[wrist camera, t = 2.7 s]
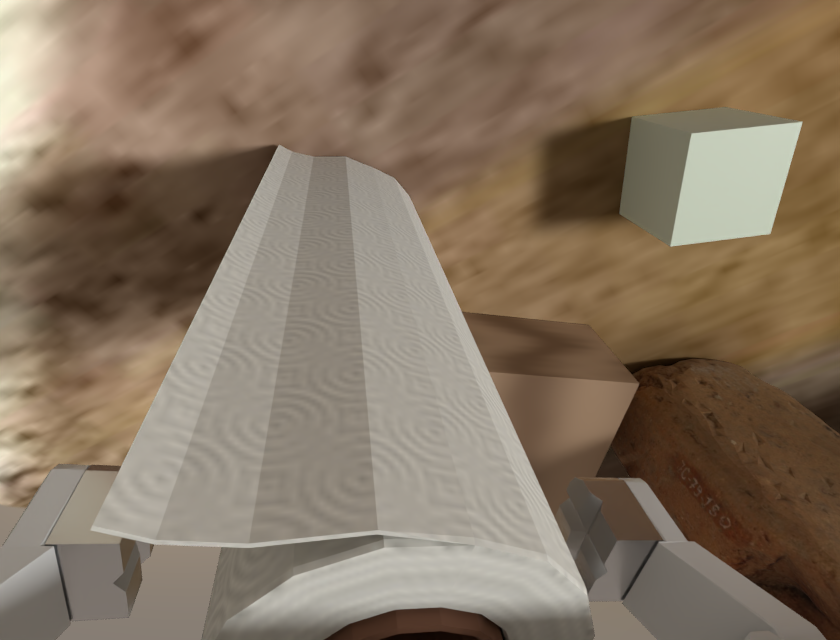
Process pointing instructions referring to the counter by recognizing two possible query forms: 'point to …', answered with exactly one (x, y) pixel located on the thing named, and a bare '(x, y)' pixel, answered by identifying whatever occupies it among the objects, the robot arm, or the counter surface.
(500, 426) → the paper towel roll
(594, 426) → the walnut block
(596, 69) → the counter surface
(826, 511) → the block
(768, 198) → the green cube
